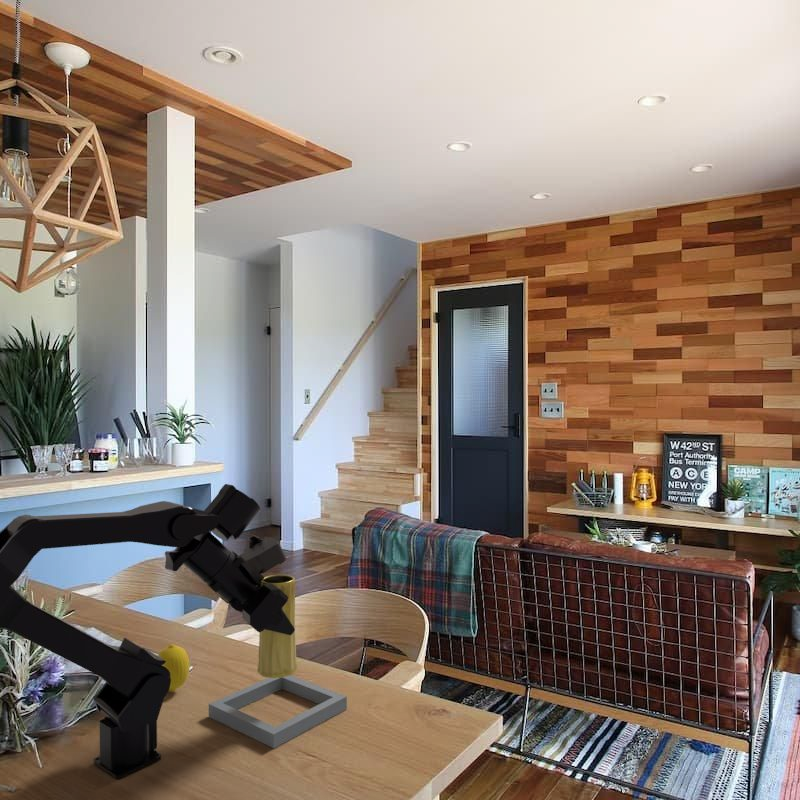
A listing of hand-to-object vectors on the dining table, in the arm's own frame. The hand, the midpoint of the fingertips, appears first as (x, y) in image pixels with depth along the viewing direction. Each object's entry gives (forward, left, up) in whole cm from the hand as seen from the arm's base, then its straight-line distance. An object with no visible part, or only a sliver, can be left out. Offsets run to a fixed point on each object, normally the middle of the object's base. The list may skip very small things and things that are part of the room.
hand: (285, 626), depth 107 cm
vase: (-1, 0, -7) cm, 7 cm away
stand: (-1, +1, -13) cm, 13 cm away
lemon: (-7, +20, -13) cm, 25 cm away
